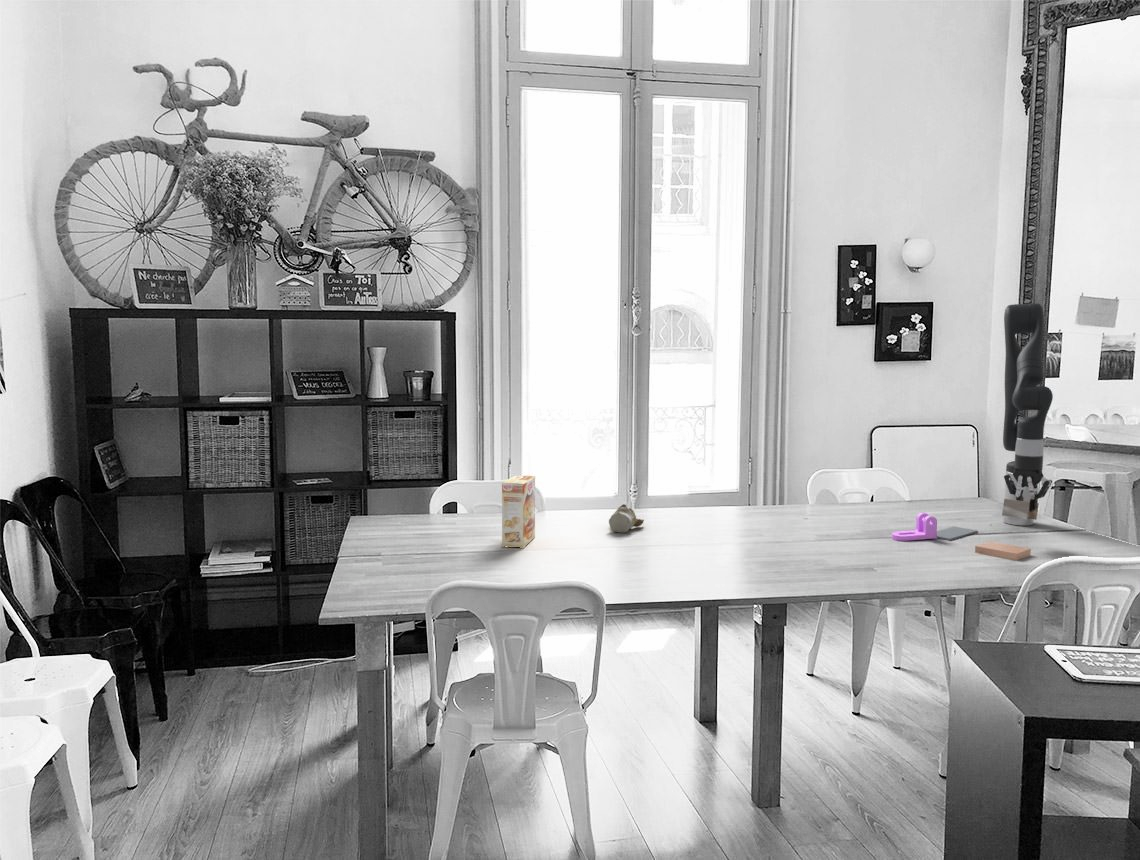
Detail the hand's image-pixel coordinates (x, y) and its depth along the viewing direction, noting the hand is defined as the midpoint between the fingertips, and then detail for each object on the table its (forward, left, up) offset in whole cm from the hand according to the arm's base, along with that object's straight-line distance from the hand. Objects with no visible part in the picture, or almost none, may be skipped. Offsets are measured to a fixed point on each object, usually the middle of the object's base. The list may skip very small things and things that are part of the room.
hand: (1026, 509), depth 281 cm
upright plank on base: (+2, 0, -2) cm, 3 cm away
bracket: (+17, -27, -11) cm, 33 cm away
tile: (+10, 0, -10) cm, 14 cm away
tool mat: (+2, -22, -11) cm, 24 cm away
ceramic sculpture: (+77, -93, -11) cm, 121 cm away
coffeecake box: (+114, -101, -11) cm, 152 cm away
